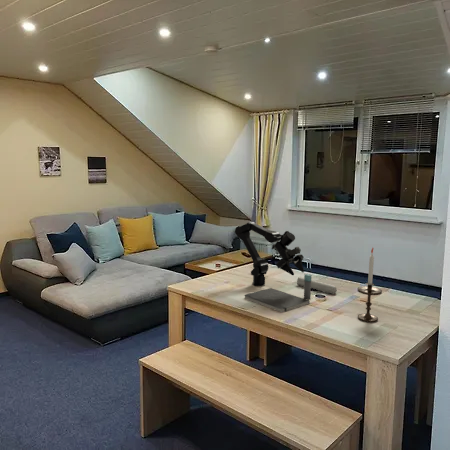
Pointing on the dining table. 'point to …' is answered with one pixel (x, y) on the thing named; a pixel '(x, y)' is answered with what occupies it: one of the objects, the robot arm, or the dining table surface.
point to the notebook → (276, 299)
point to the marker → (307, 286)
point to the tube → (318, 286)
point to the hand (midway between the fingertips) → (298, 273)
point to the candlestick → (369, 293)
